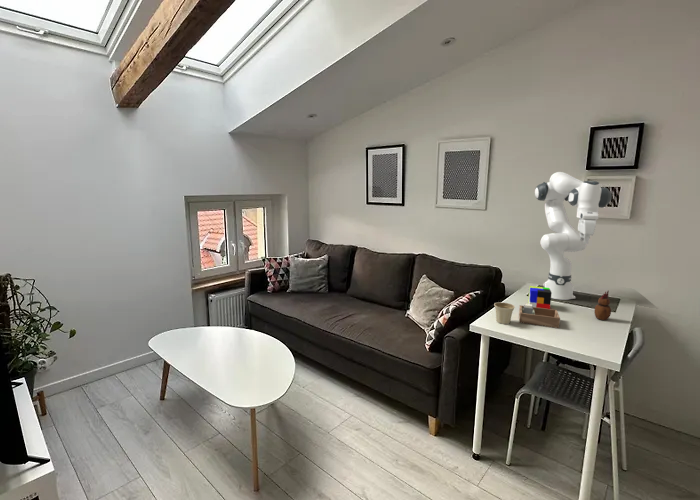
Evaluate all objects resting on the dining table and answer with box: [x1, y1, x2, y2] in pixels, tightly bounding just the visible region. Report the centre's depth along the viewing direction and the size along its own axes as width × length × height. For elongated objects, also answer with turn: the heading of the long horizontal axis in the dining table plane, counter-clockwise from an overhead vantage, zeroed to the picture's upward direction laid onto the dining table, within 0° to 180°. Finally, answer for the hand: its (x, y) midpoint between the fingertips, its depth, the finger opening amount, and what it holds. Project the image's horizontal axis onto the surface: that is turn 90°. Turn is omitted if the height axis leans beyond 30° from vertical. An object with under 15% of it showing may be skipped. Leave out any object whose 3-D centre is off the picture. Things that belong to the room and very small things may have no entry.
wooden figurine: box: [593, 290, 612, 321], centre depth 182 cm, size 7×6×15 cm
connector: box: [523, 303, 533, 314], centre depth 182 cm, size 4×4×7 cm
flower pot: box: [493, 301, 516, 325], centre depth 178 cm, size 9×9×9 cm
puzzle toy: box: [527, 285, 552, 309], centre depth 202 cm, size 10×10×10 cm
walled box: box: [518, 304, 561, 329], centre depth 180 cm, size 13×17×5 cm
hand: (583, 242), depth 180 cm, fingers open, 8 cm apart
